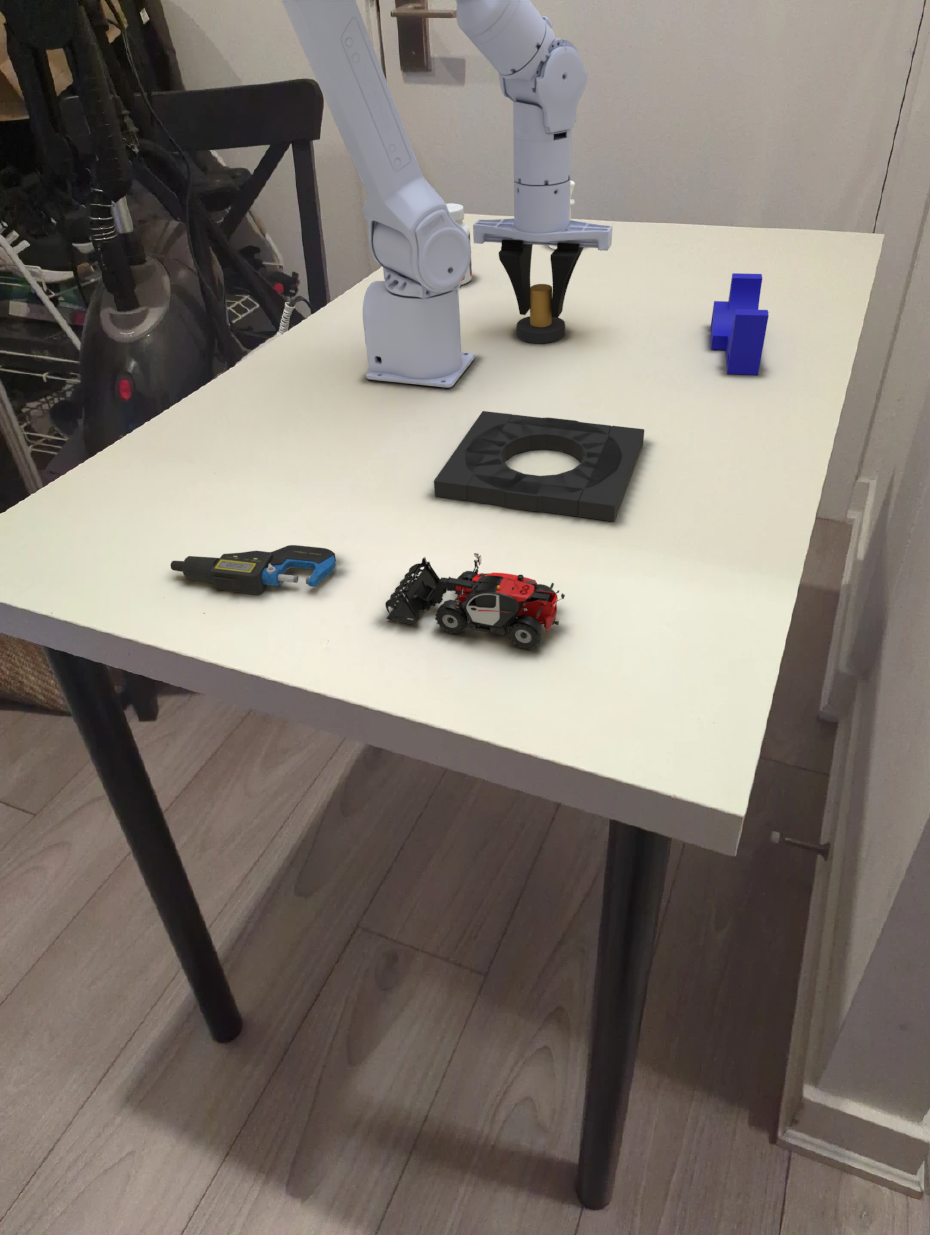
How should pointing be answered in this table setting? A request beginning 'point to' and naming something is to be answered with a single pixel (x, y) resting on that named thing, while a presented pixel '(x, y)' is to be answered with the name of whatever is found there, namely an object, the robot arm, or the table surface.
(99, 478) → the table surface
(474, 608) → the loader
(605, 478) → the socket pad
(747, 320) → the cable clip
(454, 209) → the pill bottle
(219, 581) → the micrometer
